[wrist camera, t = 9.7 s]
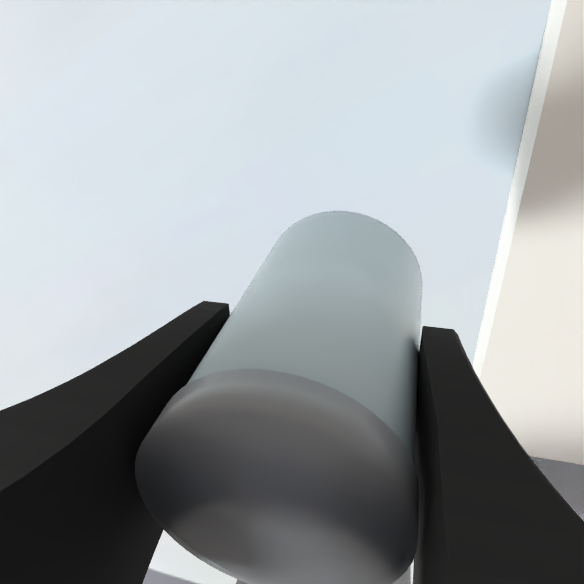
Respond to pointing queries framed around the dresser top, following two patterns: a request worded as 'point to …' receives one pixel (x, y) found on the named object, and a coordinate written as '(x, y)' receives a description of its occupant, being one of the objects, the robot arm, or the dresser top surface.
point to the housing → (543, 260)
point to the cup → (301, 417)
